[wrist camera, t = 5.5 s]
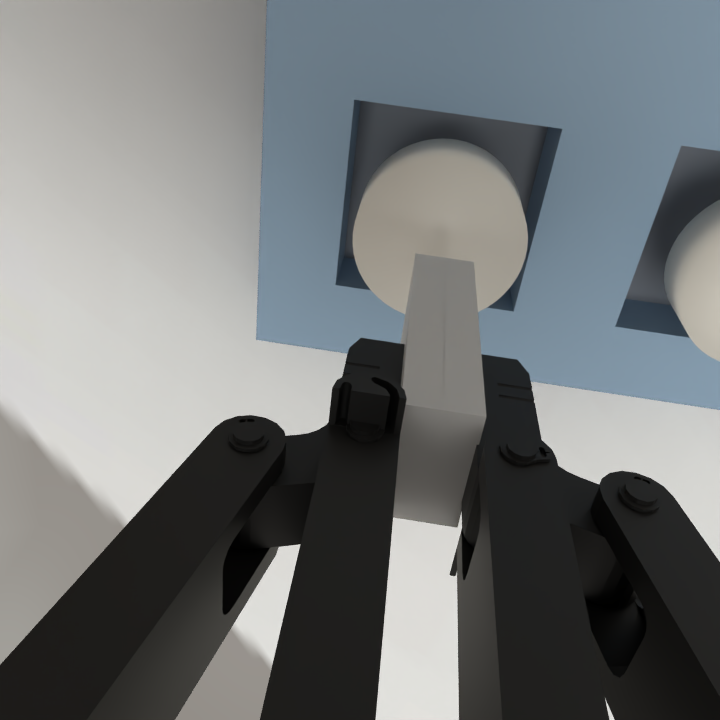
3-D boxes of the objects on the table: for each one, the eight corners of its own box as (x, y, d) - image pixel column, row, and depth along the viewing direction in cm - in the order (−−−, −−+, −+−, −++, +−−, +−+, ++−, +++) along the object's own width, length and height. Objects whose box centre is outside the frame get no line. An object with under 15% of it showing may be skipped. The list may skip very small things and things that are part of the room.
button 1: (371, 121, 22) (362, 145, 19) (537, 144, 21) (548, 171, 19) (354, 271, 24) (344, 307, 22) (500, 293, 24) (505, 331, 22)
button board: (309, -493, 17) (284, -564, 14) (1242, -385, 16) (1389, -442, 14) (272, 302, 29) (256, 339, 26) (804, 382, 28) (839, 427, 26)
